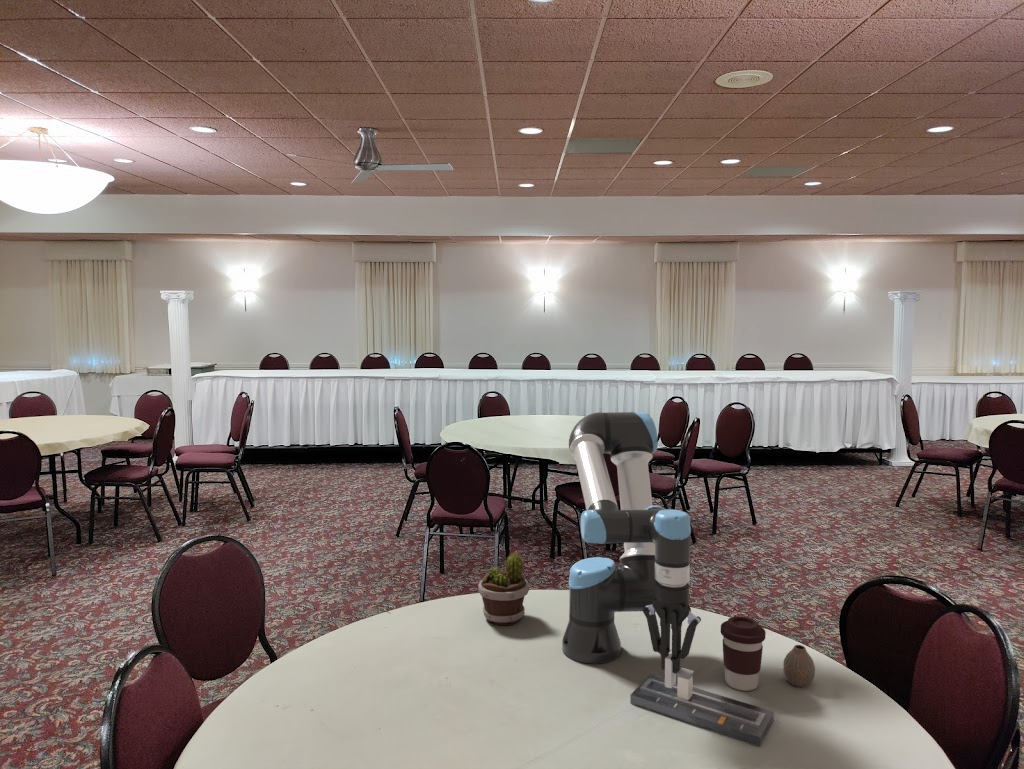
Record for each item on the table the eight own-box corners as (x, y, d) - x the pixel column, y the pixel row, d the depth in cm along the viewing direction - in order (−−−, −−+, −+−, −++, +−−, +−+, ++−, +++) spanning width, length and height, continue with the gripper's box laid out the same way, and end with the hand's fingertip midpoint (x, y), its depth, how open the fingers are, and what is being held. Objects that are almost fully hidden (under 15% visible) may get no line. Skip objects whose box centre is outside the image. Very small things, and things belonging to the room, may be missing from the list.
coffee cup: (763, 676, 162) (765, 616, 161) (764, 698, 152) (766, 634, 151) (720, 670, 165) (721, 610, 164) (718, 690, 156) (720, 627, 155)
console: (630, 703, 150) (630, 692, 150) (650, 682, 160) (650, 671, 159) (759, 747, 135) (760, 734, 134) (773, 720, 144) (774, 708, 143)
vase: (817, 692, 155) (819, 655, 154) (785, 688, 156) (787, 652, 156) (810, 677, 162) (812, 641, 161) (780, 674, 163) (781, 639, 162)
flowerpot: (483, 632, 186) (482, 561, 184) (474, 609, 201) (474, 544, 199) (534, 627, 189) (534, 557, 187) (522, 605, 204) (522, 541, 202)
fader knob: (676, 698, 148) (676, 673, 148) (681, 691, 151) (681, 667, 151) (688, 701, 147) (688, 677, 146) (693, 695, 149) (694, 671, 149)
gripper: (637, 580, 149) (636, 683, 151) (694, 593, 142) (692, 701, 144) (651, 570, 155) (649, 670, 157) (706, 582, 148) (704, 686, 150)
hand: (670, 685), depth 150 cm, fingers closed
